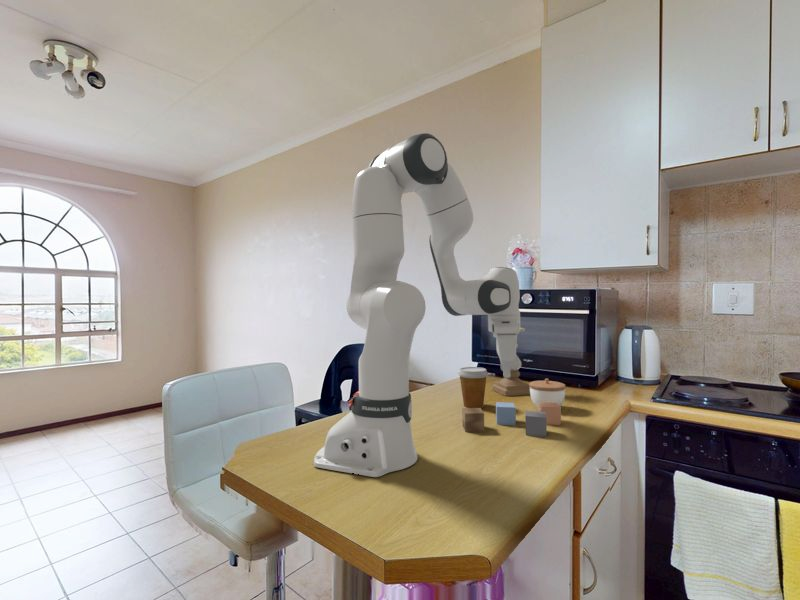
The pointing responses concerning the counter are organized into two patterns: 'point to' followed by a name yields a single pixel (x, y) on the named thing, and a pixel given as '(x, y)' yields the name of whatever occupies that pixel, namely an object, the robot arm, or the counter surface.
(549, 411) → the terracotta cube
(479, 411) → the walnut cube
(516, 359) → the candle holder
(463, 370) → the disposable coffee cup
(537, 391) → the lidded jar
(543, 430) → the charcoal cube
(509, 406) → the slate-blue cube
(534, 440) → the counter surface
